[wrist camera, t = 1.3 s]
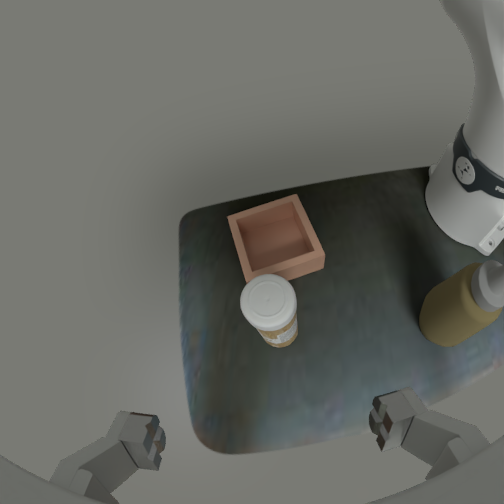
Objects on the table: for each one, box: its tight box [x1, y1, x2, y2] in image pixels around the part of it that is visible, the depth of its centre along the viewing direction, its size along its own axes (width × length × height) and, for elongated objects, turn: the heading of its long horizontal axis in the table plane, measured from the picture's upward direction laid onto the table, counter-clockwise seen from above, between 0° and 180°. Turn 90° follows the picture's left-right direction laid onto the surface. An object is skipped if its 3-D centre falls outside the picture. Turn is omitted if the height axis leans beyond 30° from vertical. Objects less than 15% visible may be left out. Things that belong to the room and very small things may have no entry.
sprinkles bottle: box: [240, 274, 298, 347], centre depth 28 cm, size 5×5×13 cm
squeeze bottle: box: [419, 260, 504, 347], centre depth 22 cm, size 8×8×18 cm
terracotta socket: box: [227, 194, 325, 284], centre depth 37 cm, size 10×10×4 cm
